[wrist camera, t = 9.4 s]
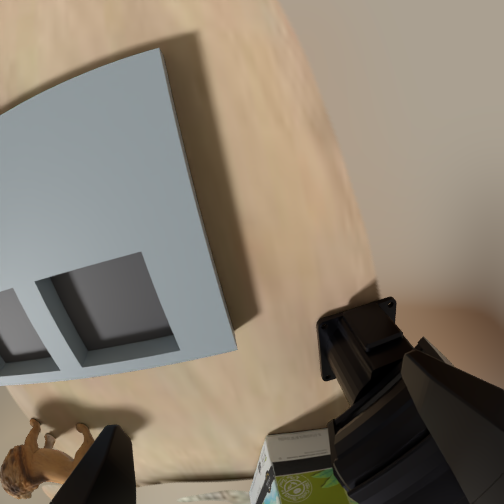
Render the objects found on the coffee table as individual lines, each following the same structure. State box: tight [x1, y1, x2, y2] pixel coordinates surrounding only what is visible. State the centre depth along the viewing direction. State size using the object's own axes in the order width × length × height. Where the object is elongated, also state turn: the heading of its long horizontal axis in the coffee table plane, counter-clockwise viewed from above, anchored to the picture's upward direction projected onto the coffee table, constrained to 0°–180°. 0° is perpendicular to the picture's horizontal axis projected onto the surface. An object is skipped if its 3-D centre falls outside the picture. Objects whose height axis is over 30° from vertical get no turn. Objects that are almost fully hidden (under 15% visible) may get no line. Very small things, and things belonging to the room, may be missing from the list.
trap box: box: [0, 48, 237, 386], centre depth 16 cm, size 18×24×2 cm
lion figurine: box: [0, 419, 94, 499], centre depth 20 cm, size 15×5×9 cm, turn 99°
